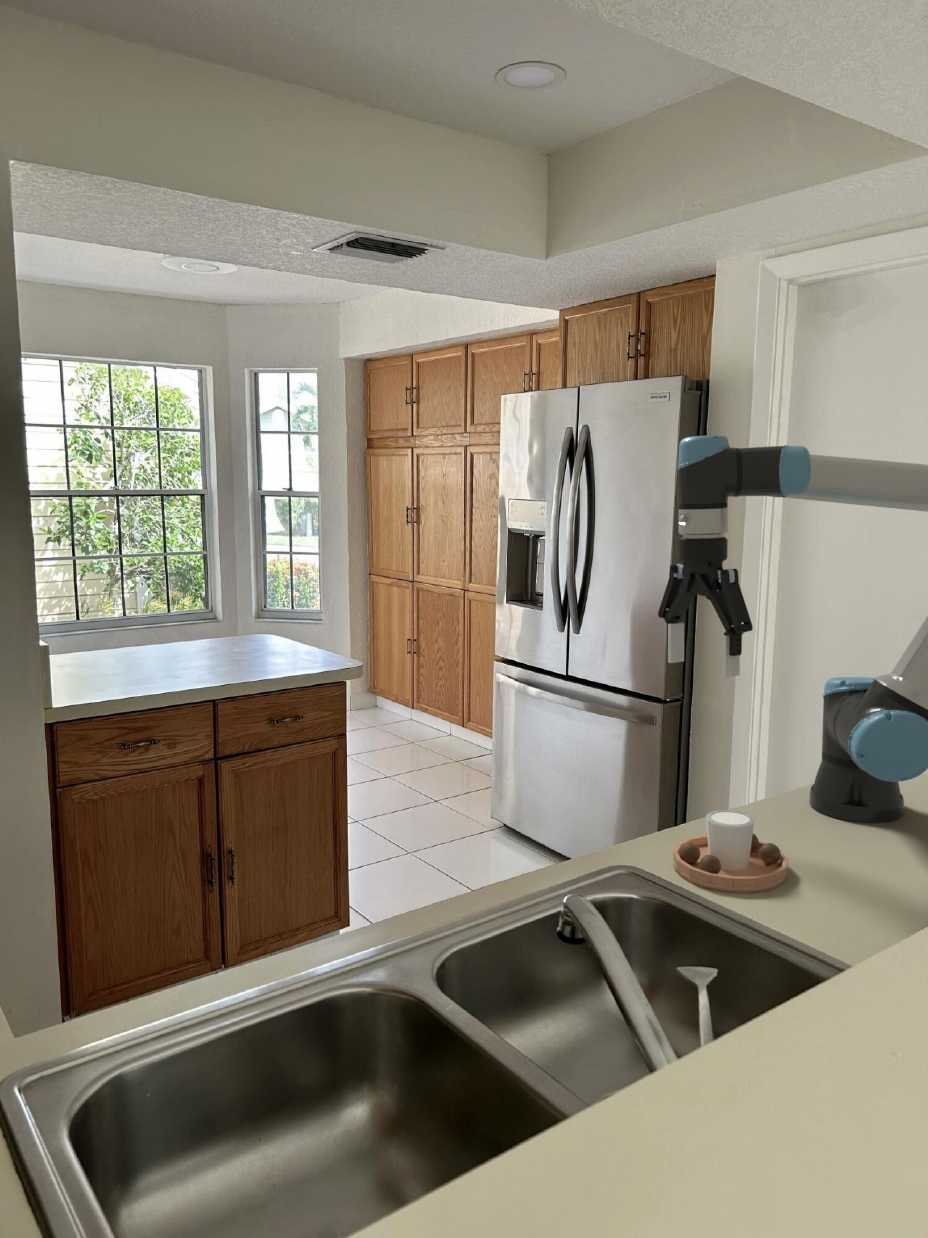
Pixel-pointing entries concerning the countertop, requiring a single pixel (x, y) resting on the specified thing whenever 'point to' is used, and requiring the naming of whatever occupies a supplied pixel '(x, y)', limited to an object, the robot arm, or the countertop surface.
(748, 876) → the tray
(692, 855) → the bead
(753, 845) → the bead
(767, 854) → the bead
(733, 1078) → the countertop surface
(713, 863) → the bead
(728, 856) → the white cup
